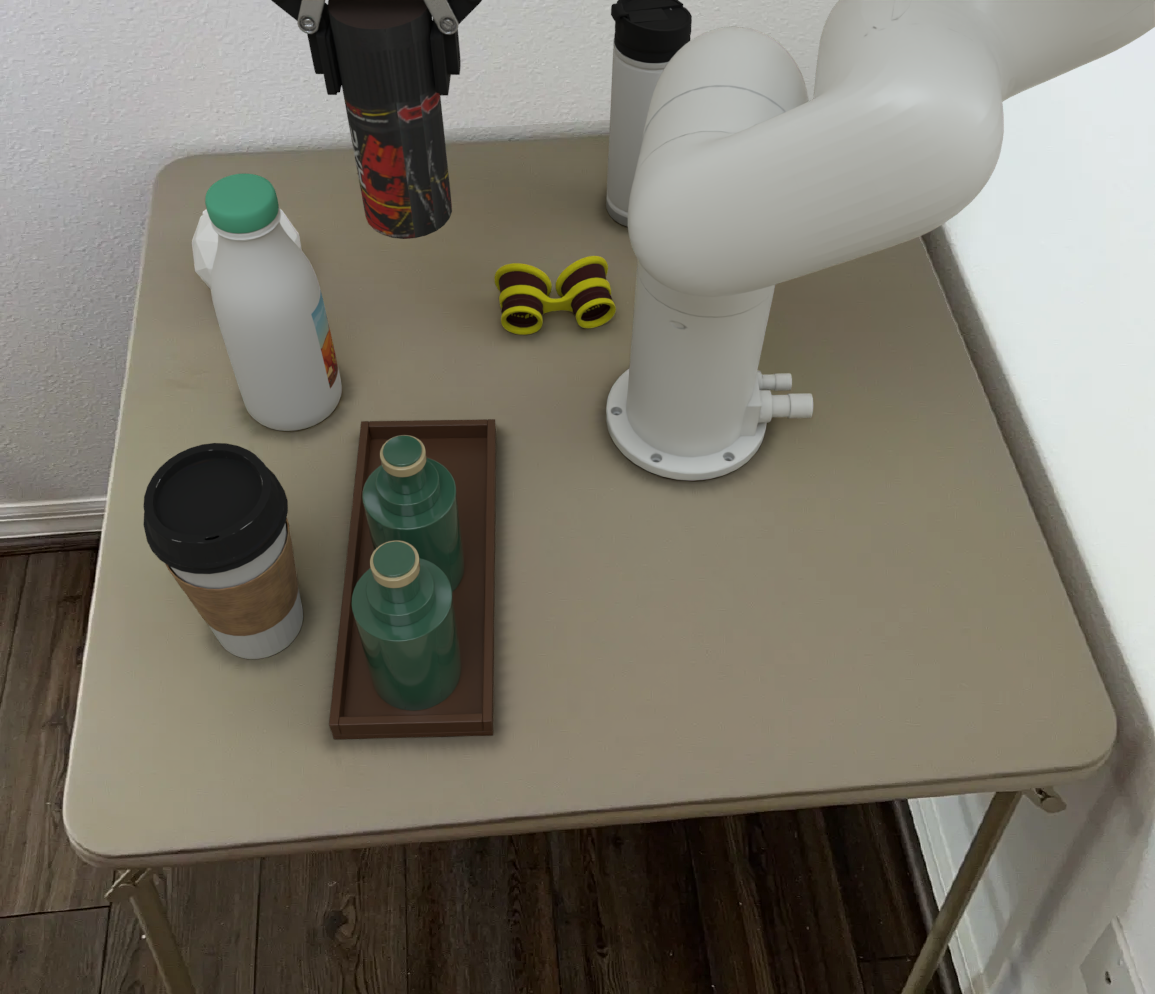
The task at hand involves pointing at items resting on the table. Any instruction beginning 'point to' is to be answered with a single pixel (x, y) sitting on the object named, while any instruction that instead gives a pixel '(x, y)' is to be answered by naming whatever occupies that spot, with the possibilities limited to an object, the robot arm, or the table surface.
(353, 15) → the deodorant
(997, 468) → the table surface
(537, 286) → the opera glasses
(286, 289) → the milk bottle
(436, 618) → the bottle front
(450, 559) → the bottle middle
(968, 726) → the table surface
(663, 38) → the travel mug
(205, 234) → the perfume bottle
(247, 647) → the coffee cup
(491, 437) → the tray
